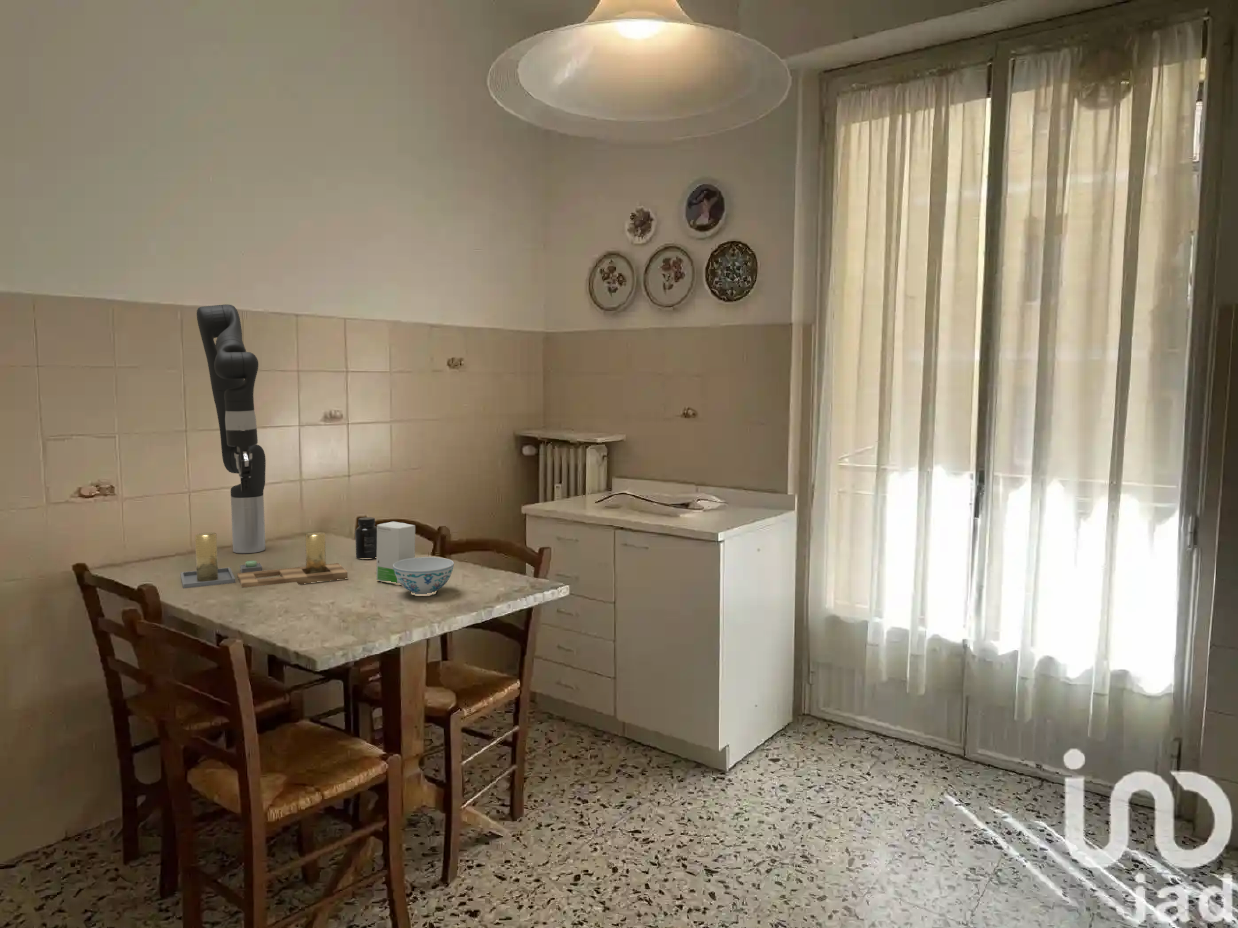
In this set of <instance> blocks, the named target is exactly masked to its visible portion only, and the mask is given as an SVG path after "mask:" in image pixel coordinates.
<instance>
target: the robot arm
mask: <svg viewBox="0 0 1238 928" xmlns="http://www.w3.org/2000/svg"><path fill="white" fill-rule="evenodd" d="M240 317H241V316H240V315H239V311H238V309H237V308H236V307H235V306H234V305H233V304H227V303H226V304H225V303H224V304H217V305H205V306H199V307H198V308H197V310H196V322H197V326H198V330H199V333H200V337H201V341H202V345H203V348H204V349H203V350H204V353H205V356H206V361H207V367H208V373H209V380H210V385H211V390H212V391H211V392H212V397H213V400H214V405H215V409H216V415H217V421H218V428H219V434H220V435H219V436H220V448H221V457H222V461H223V465H224V468H225V469H226V470H227V471H228V472H229V473H231V474H238V477H239V479H240V483H239V484H236V485H233V486H232V487H231V488H230V507H231V531H232V552H233V553H235V554H236V553H237V554H253V553H259V552H263V551H265V550H266V530H265V529H266V527H265V526H266V524H265V501H264V497H265V496H264V490H265V485H266V465H267V464H266V463H267V462H266V461H267V458H266V453H265V451H264V448H263V447H262V446H261V445H259V444H258V443H259V442H258V427H257V417H256V412H255V401H254V391H255V384H256V379H257V375H258V371H259V359H258V358H257V355H255V354H254V353H252V352H250V351H247V349H246V346H245V344H244V341H243V331H242V322H241V318H240ZM214 339H216V340H215V341H214Z"/></svg>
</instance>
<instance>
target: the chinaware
mask: <svg viewBox="0 0 1238 928" xmlns="http://www.w3.org/2000/svg"><path fill="white" fill-rule="evenodd" d="M454 565H455V563H454V561H453V560H452V559H450V558H444V557H438V556H437V557H435V556H423V557H421V556H420V557H415V558H410V559H405V560H401V561H398V562H396V563H394V564H393V568H394V572H395V575H396V577H397V579H398V581H399V582H400V584H401V585H400V586H402V587H403V588H404V589H406V590H407V591H408V592H410V591H411V592H412V593H415V594H427V593H432V592H435V591H437V590H438V591H439V590H440V589H441V588H443V587H444V586H445V585H446V584H447V582H448V581H449V580H450V578H451V575H452V573H453V569H454Z"/></svg>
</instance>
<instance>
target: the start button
mask: <svg viewBox="0 0 1238 928" xmlns="http://www.w3.org/2000/svg"><path fill="white" fill-rule="evenodd" d="M257 562H258V561H257V560H247V561H245V563H244V565H246V567H255V566H257Z"/></svg>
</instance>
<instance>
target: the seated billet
mask: <svg viewBox="0 0 1238 928" xmlns="http://www.w3.org/2000/svg"><path fill="white" fill-rule="evenodd" d="M326 556H327V555H326V533H325V532H319V531H318V532H308V533H305V566H306V574H313V573H322V572H326V564H327V563H326V562H327V561H326V560H327V559H326Z"/></svg>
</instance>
